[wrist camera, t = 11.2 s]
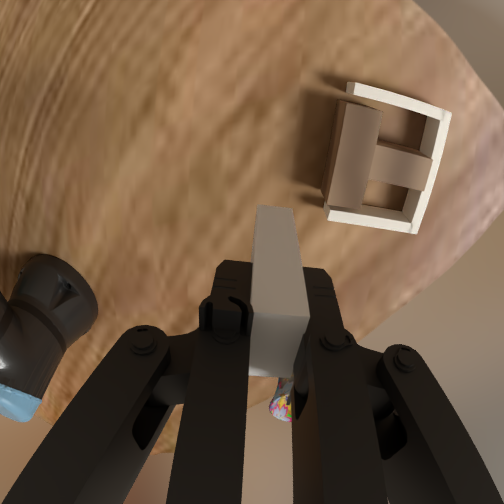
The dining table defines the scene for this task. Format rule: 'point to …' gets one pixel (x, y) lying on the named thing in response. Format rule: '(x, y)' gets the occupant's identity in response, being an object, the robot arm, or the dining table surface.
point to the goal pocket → (415, 199)
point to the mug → (282, 399)
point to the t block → (366, 158)
